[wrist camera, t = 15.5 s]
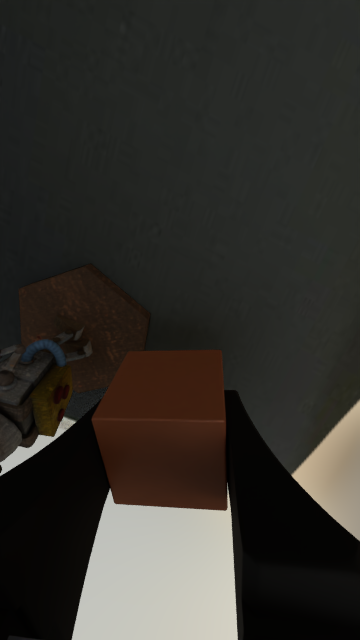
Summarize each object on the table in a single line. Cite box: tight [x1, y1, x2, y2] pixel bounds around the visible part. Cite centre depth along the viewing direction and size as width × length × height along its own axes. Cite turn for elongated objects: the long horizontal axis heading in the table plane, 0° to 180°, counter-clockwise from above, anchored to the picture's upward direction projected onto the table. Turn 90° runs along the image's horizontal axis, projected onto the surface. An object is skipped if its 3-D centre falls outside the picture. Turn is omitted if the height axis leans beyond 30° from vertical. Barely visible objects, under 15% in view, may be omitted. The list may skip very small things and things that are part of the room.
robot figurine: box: [0, 264, 150, 473], centre depth 15 cm, size 11×9×12 cm
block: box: [92, 350, 227, 511], centre depth 11 cm, size 4×4×4 cm
